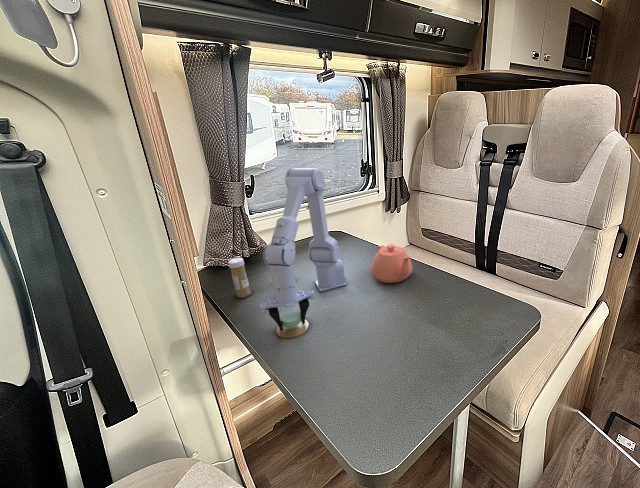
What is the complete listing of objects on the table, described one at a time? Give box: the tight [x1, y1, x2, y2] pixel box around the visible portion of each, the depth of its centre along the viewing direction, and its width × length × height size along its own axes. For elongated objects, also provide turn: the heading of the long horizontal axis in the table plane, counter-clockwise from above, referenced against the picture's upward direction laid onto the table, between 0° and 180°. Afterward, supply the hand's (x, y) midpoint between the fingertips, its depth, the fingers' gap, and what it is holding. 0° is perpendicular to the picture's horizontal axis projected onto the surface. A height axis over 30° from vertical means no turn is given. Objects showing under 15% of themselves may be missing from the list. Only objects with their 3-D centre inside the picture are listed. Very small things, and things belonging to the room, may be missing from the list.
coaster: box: [276, 318, 310, 339], centre depth 92 cm, size 9×9×1 cm
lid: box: [280, 310, 302, 328], centre depth 91 cm, size 6×6×2 cm
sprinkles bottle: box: [227, 257, 252, 299], centre depth 108 cm, size 5×5×13 cm
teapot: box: [370, 244, 413, 284], centre depth 118 cm, size 22×16×12 cm
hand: (292, 325), depth 92 cm, fingers closed on lid, 6 cm apart
